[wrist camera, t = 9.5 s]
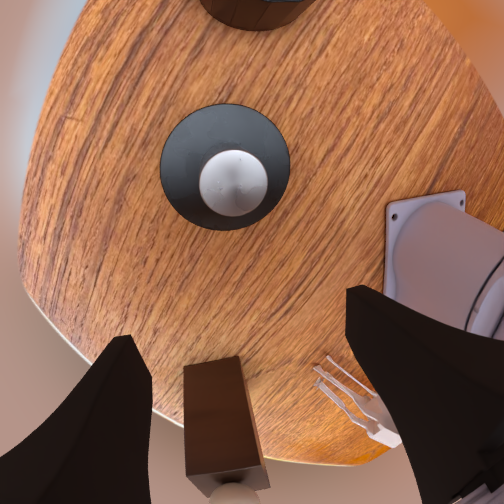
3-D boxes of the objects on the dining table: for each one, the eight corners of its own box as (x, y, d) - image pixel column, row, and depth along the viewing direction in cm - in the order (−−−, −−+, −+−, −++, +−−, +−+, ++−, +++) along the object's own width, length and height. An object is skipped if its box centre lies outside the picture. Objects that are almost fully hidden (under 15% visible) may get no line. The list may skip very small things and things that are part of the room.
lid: (292, 211, 18) (323, 243, 14) (178, 236, 18) (171, 277, 13) (275, 96, 16) (304, 87, 11) (150, 120, 15) (129, 119, 10)
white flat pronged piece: (313, 333, 31) (411, 416, 30) (310, 397, 20) (433, 480, 19) (325, 321, 30) (422, 407, 30) (329, 382, 19) (448, 469, 19)
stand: (248, 390, 24) (270, 487, 16) (198, 399, 24) (206, 497, 15) (238, 355, 23) (261, 465, 14) (183, 366, 22) (185, 476, 14)
